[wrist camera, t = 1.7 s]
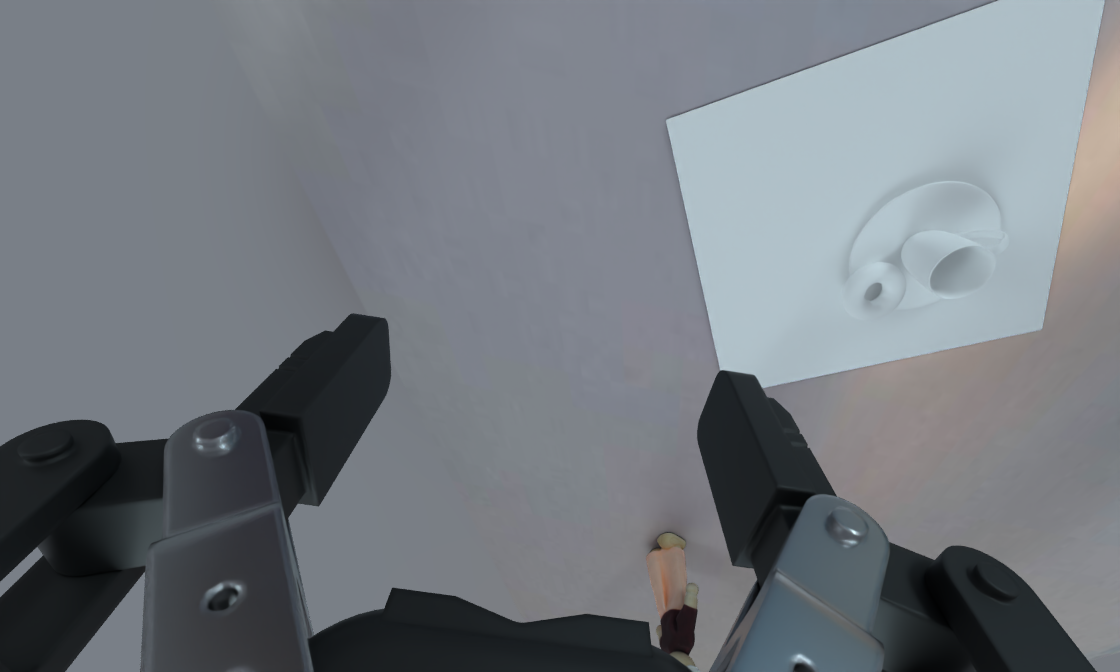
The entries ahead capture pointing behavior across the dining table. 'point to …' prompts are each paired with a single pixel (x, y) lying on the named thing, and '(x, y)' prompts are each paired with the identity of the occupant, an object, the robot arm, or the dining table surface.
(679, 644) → the grandmother figurine
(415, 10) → the dining table surface
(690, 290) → the dining table surface
